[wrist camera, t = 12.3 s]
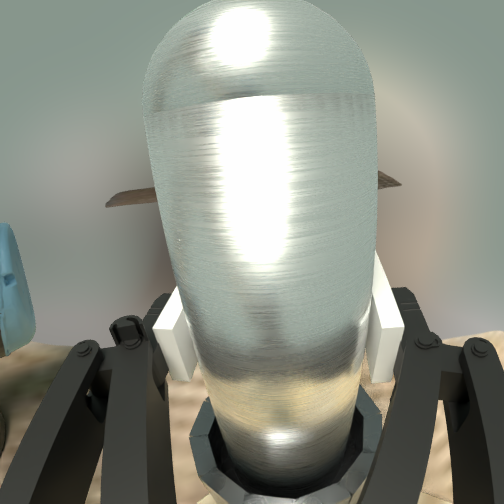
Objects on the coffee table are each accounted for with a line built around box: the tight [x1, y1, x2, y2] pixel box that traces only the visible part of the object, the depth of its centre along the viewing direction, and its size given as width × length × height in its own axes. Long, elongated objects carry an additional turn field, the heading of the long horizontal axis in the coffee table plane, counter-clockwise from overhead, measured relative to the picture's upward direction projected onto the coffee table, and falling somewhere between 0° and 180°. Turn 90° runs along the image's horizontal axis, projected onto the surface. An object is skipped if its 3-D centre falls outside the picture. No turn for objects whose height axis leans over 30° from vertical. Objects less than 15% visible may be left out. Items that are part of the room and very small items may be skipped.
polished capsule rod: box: [142, 0, 378, 499], centre depth 13 cm, size 9×6×21 cm
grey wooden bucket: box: [189, 384, 382, 504], centre depth 17 cm, size 10×10×11 cm
